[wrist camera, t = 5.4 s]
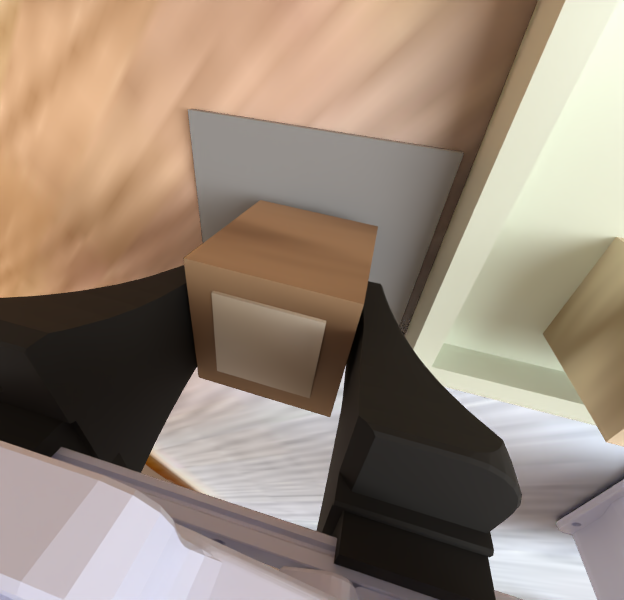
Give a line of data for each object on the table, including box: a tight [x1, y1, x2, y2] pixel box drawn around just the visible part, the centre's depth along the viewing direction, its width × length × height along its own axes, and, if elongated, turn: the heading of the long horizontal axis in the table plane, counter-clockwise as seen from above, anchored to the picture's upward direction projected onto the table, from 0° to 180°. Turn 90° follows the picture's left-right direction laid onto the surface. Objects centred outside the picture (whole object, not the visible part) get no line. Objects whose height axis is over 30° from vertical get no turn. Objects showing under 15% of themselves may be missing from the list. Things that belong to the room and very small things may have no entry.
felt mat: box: [188, 109, 464, 326], centre depth 14 cm, size 11×10×1 cm
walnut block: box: [183, 200, 378, 417], centre depth 10 cm, size 4×4×5 cm
